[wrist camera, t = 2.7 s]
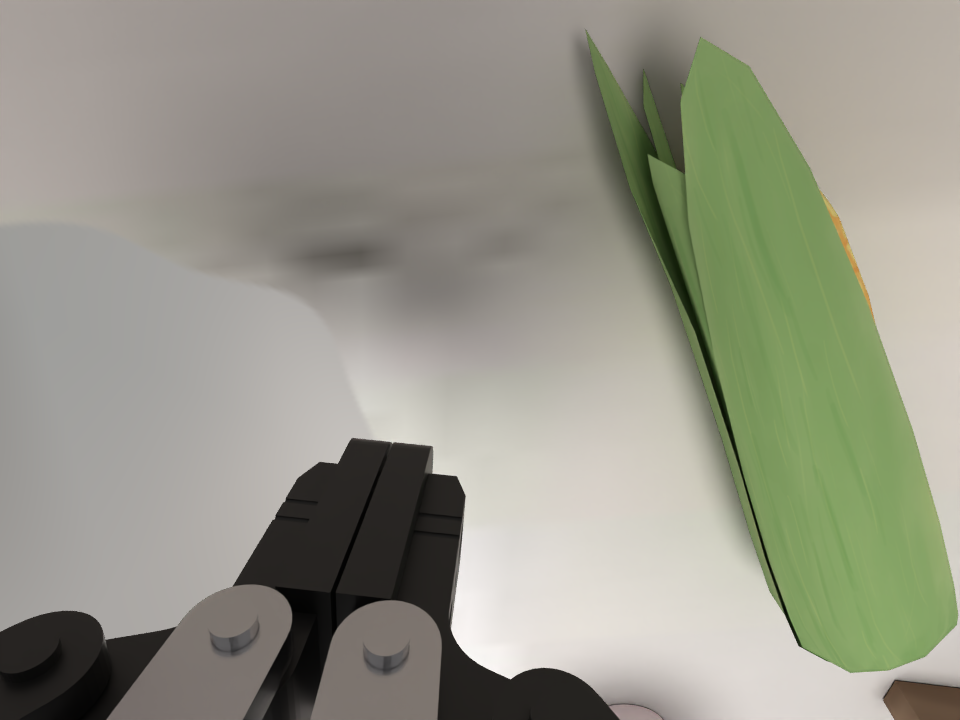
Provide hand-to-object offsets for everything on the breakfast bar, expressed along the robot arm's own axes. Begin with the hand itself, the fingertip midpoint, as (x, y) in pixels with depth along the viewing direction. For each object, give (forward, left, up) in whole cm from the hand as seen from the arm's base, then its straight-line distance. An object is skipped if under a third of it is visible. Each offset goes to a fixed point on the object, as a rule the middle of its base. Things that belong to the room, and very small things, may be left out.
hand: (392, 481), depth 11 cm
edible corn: (-1, +10, -7) cm, 12 cm away
